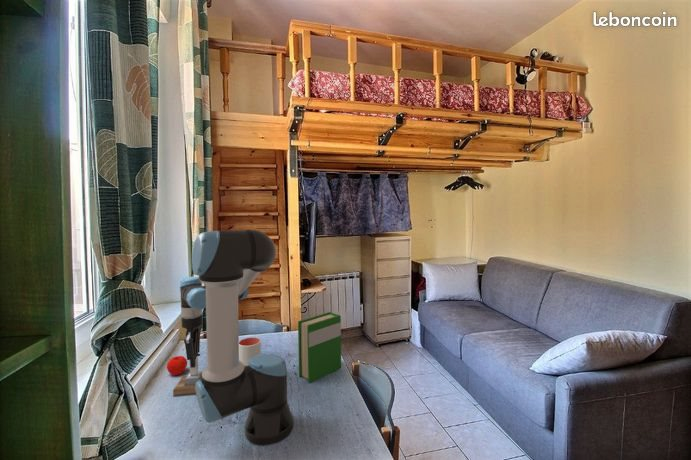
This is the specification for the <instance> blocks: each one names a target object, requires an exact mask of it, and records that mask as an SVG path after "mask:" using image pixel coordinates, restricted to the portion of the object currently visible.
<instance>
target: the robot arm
mask: <svg viewBox="0 0 691 460" xmlns="http://www.w3.org/2000/svg"><path fill="white" fill-rule="evenodd" d="M275 246H276V245H275V244H274V241H273V240H272V239H271V237H270V236H269V235H268V234H266V233H264V232H263V231H260V230H257V229H239V230H212V231H204V232H201V233H200V234H198V235H197V236H196V238H195V240H194V243H193V247H192V254H191V264H192V265H191V268H192V269H191V270H192V273H193V274H194V275H195V276H187V277H186V276H185V277H183V278H181V279H180V281H179V284H180V285H179V289H180V290H179V291H180V317H181V319H180V320H181V327H182V328H183V329H186V332H185V337H186V338H184V340H183V343H184V346H185V354H186V360H187V361H188V362H189V373H190V375H196V374H198V372H199V357H200V356H201V353H200V351H201V350H200V347H201V346H200V344H201V330H202V328H201V326H202V325H203V323H204V321H203V315H202V314H203V310H204V309H206V310H205V312H206V314H205V316H206V317H205V319H206V320H205V321H206V352H207V353H206V358H207V361H206V362H207V365H206V367H205V368H204V369H203V370H202V371H203V372H202V380H199V381H197V382H196V384H195V390H196V394H195V395H196V400H197V402H198V407H199V409H200V410H199V411H200V413H201V416H202V418H203V419H204V421H205V422H206V423H214V422H216V421H219V420H223V419H225V418H227V417H230V416H233V415H235V414H237V413H240V412H241V411H244V410H247V409H249V411H248V415H247V417H246V420H245V422H244V423H245V424H244V435H245V438H246V440H247V441H249V443H251V444H254V445H256V446H257V445H258V446H268V445H273V444H276V443H279V442H281V441H282V440H284V439H285V438H287V437H288V436H289V435H290V434H291V433H292V431H293V429H294V416H293V413H292V412H291V409H290V406H289V403H288V378H287V377H288V376H287V375H288V369H287V362H286V360H285V358H284V357H282V356H280V355H278V354H273V353H261V354H260V355H256V356H253V357H252V358H250V360H249V362H248V366H244V364H243V363H242V362H240V361H239V341H240V340H239V339H240V336H239V335H240V333H239V331H240V330H239V328H240V327H239V323H240V322H239V301H241V300H245V299H246V298H247V297H248V296H249V286H250V285H251V284H252V283H253V282H254V280H256V278H257V277H258V276H259V275H260V273H262V272H263V273H264V272H265V271H267V270H268V269H269V268H270V267H271V266H272V265H273V263H274V262H275V259H276V254H277V252H276V251H277V249H276V247H275Z"/></svg>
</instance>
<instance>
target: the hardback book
mask: <svg viewBox="0 0 691 460" xmlns="http://www.w3.org/2000/svg"><path fill="white" fill-rule="evenodd" d="M341 318H342V317H341V315H340V314H337V313H333V312H331V311H329V312H325V313H322V314H318V315H315V316H311V317H308V318H305V319H301V320H298V321H297V332H298V333H297V335H298V336H297V339H298V340H297V342H298V376H299V378H302V377H303V378H305V379H307V382H308V384H312V383H313V382H315V381H317V380H319V379H322V378H324V377H326V376H328V375H330V374H333V373H334V371H335V372H336V370H337V371H338V369H339V370H340V368H341V369H342V328H341V327H342V326H341V325H342V323H341V321H342V320H341Z"/></svg>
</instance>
